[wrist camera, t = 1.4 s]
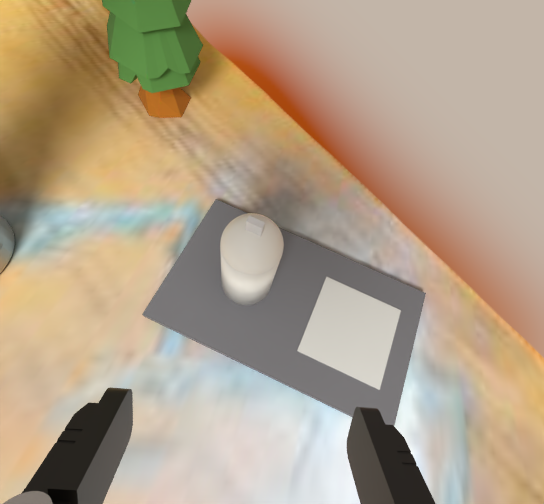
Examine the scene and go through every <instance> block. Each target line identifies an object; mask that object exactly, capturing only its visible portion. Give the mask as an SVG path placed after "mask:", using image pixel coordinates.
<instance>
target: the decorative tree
mask: <svg viewBox="0 0 544 504" xmlns="http://www.w3.org/2000/svg"><path fill="white" fill-rule="evenodd" d="M190 2H191V0H102V3H103V6H104V7H105V8H106V9H108V10H109V11H110V14H109V19H108V23H107V32H108V45H109V57H110V58H111V59H113V60H115V61H116V62H118V69H119V78H120V79H122V80H124V81H126V82H129V83H132V82H133V81H134V80H135V79H137V77H138V80H139V82H140V84H141V87H140V90H139V94H138V95H139V97H140V99H141V101H142V103H143V105H144V107H145V108H146V110H147V112H148V114H149V116H154V117H158V118H167V117H182V115H183V113H184V111H185V109H186V107H187V105H188V103H189V101H190V99H191V97H189V96H188V95H187V94H186V93H185V92H184V91H183V90H182V89H181V88H180V87H183V86H188V85H189V84H190V82H191V80H192V78H193V76H194V74H195V72H196V70H197V68H198V66H199V64H200V60H199V58H198V55H199V53H200V51H201V49H202V46H203V44H202V43H201V41H200V39H199V37H198V35H197V33H196V32H195V30H194V28H193V26H192V24H191V22H190V21H189V19H188V17H187V15H186V12H187V9H188V7H189V4H190Z"/></svg>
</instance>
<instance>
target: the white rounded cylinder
mask: <svg viewBox="0 0 544 504" xmlns="http://www.w3.org/2000/svg"><path fill="white" fill-rule="evenodd" d="M283 249H284V242H283V236H282V233H281V231H280V229H279V228H278V226H277V225H276V224H275V223H274V222H273V221H272V220H271V219H269V218H268V217H266V216H264V215H261V214H256V213H248V214H243V215H240V216H238V217H236V218H235V219H233V220H232V221H231V222H230V223H229V224H228V225H227V226H226V228H225V229H224V231H223V233H222V236H221V242H220V252H221V280H222V288H223V291H224V293H225V294H226V296H227V297H228V298H229V299H230V300H232V301H233V302H235V303H237V304H240V305H253V304H256V303H258V302H260V301H261V300H263V299H264V298H265V297H266V296H267V294H268V292H269V290H270V288H271V285H272V282H273V279H274V276H275V274H276V271H277V268H278V265H279V262H280V259H281V257H282V254H283Z"/></svg>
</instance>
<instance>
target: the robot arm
mask: <svg viewBox="0 0 544 504" xmlns="http://www.w3.org/2000/svg"><path fill="white" fill-rule="evenodd" d="M14 245H15V241H14V233H13V230H12V228H11V226H10V225H9V223H8V222H7V221H6V220H5V219H4V218H3V217H2V216H0V273H1V272H2V271H3V269H4V268H5V267H6V265H7V264H8V262H9V260H10V258H11V256H12V254H13V250H14ZM132 425H133V409H132V390H131V389H121V388H108V389H107V390H106V392H105V393H104V395H103V397H102V398H101V400H100V402H99V403H88V404H86V405H85V406H84V407H83V408H81V409H80V410H79V411H78V412H77V413H75V414H74V416H73V417H72V419H71V420H70V422H69V423H68V425H67V426H66V428H65V431H63V432H62V434H61V435H60V437H59V438H58V440H57V443H55V444H54V446H53V447H52V449H51V450H50V452H49V453H48V455H47V456H46V458H45V459H44V461H43V462H42V464H41V465H40V467H39V469H38V470H37V472H36V473H35V475H34V476H33V478H32V479H31V481H30V482H29V484H28V485H27V487H26V488H25V489H24V491H23V492H22V493H21V494H19V495H17V496H15V497H13V498H11V499H9V500H8V501H6V502H5V503H4V504H103V501H104V499H105V496H106V494H107V492H108V489H109V487H110V485H111V482H112V480H113V478H114V475H115V473H116V471H117V468H118V466H119V464H120V461H121V459H122V457H123V454H124V452H125V449H126V447H127V445H128V442H129V439H130V436H131V432H132ZM347 454H348V459H349V463H350V467H351V470H352V474H353V478H354V481H355V485H356V489H357V492H358V496H359V499H360V503H361V504H435V502H434V500H433V498H432V495H431V493H430V491H429V489H428V487H427V485H426V483H425V481H424V479H423V477H422V474H421V472H420V470H419V468H418V466H416V462H415V460H414V458H413V455H412V454H411V451H410V449H409V447H408V445H407V443H406V441H405V439H404V437H403V436H402V435H401V434H400V433H399V431H398V430H397V429H396V428H395V427H394V426H393V425H386V424H385V422H384V420H383V418H382V416H381V413H380V411H379V410H378V409H377V408H368V407H356V408H355V410H354V414H353V418H352V422H351V426H350V430H349V434H348V438H347Z"/></svg>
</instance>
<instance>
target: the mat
mask: <svg viewBox="0 0 544 504" xmlns="http://www.w3.org/2000/svg"><path fill="white" fill-rule="evenodd" d="M243 214H248V213H246V212H244V211H241V210H239V209H237V208H235V207H233V206H230V205H228V204H226V203H224V202H221V201H219V200H217V199H216V200H215V201H214V203H213V205H212V206H211V208H210V209H209V211H208V212H207V214H206V216H205V217H204V219H203V220H202V222H201V223H200V225H199V226H198V228H197V230H196V231H195V233H194V234H193V236H192V237H191V239H190V241H189V242H188V244H187V245H186V247H185V248H184V250H183V252H182V253H181V255H180V256H179V258H178V259H177V261H176V262H175V264H174V266H173V267H172V269H171V270H170V272H169V273H168V275H167V277H166V278H165V280H164V281H163V283H162V284H161V286H160V287H159V289H158V291H157V292H156V294H155V295H154V297H153V298H152V300H151V302H150V303H149V305H148V306H147V308H146V309H145V311H144V313H143V314H142V315H143V316H145V317H147V318H149V319H151V320H153V321H155V322H157V323H159V324H161V325H163V326H165V327H167V328H169V329H171V330H173V331H175V332H178V333H180V334H182V335H184V336H186V337H188V338H190V339H192V340H194V341H196V342H198V343H200V344H202V345H204V346H206V347H209V348H211V349H213V350H215V351H217V352H219V353H221V354H223V355H225V356H227V357H229V358H231V359H233V360H235V361H237V362H240V363H242V364H244V365H246V366H248V367H250V368H252V369H254V370H256V371H258V372H260V373H262V374H264V375H266V376H268V377H271V378H273V379H275V380H277V381H279V382H281V383H283V384H285V385H287V386H289V387H291V388H293V389H295V390H297V391H299V392H302V393H304V394H306V395H308V396H310V397H312V398H314V399H316V400H318V401H320V402H322V403H324V404H326V405H328V406H330V407H332V408H335V409H337V410H339V411H341V412H343V413H345V414H347V415H349V416H351V417H353V414H354V410H355V408H356V407H368V408H377V409H378V410H379V411H380V413H381V416H382V418H383V420H384V422H385V424H386V425H393V426H394V424H395V420H396V416H397V411H398V407H399V403H400V399H401V395H402V391H403V386H404V382H405V378H406V374H407V370H408V365H409V361H410V357H411V353H412V349H413V344H414V340H415V336H416V332H417V328H418V323H419V319H420V315H421V311H422V307H423V302H424V298H425V294H426V293H424V292H422V291H420V290H418V289H415V288H413V287H411V286H409V285H406V284H404V283H402V282H400V281H398V280H395V279H393V278H391V277H389V276H386V275H384V274H382V273H380V272H377V271H375V270H373V269H371V268H369V267H366V266H364V265H362V264H360V263H357V262H355V261H353V260H351V259H348V258H346V257H344V256H342V255H340V254H337V253H335V252H333V251H331V250H328V249H326V248H324V247H322V246H319V245H317V244H315V243H313V242H311V241H308V240H306V239H304V238H302V237H299V236H297V235H295V234H293V233H290V232H288V231H286V230H284V229H282V228H279V227H278V228H279V229H280V231H281V233H282V236H283V242H284V249H283V254H282V257H281V259H280V262H279V265H278V268H277V271H276V274H275V276H274V279H273V282H272V285H271V288H270V290H269V292H268V294H267V296H266V297H265V298H264V299H263V300H261V301H260V302H258V303H256V304H253V305H240V304H237V303H235V302H233V301H232V300H230V299H229V298H228V297H227V296H226V294H225V293H224V291H223V288H222V280H221V252H220V242H221V236H222V233H223V231H224V229H225V228H226V226H227V225H228V224H229V223H230V222H231V221H232V220H233V219H235V218H236V217H238V216H240V215H243Z"/></svg>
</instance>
